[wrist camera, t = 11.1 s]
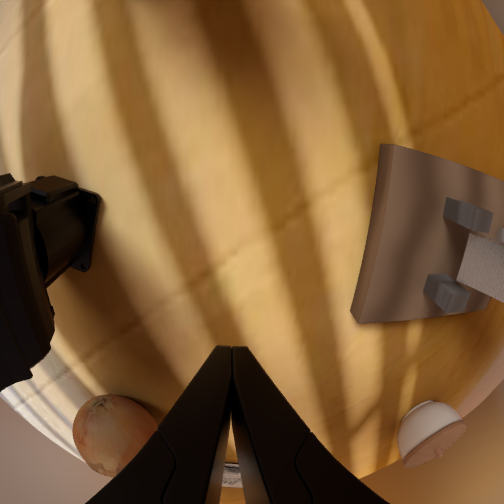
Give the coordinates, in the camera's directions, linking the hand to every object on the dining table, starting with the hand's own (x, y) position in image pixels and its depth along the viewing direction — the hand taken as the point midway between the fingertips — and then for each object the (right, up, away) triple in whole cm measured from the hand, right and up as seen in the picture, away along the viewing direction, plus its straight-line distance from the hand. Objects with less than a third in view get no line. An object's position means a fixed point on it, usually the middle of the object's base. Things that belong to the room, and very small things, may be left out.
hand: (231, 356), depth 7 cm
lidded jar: (+26, -22, +25) cm, 42 cm away
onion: (-14, -15, +19) cm, 28 cm away
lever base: (+19, +4, +14) cm, 23 cm away
